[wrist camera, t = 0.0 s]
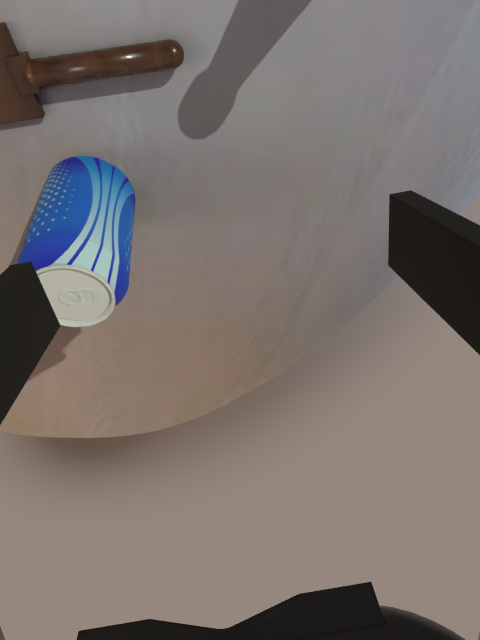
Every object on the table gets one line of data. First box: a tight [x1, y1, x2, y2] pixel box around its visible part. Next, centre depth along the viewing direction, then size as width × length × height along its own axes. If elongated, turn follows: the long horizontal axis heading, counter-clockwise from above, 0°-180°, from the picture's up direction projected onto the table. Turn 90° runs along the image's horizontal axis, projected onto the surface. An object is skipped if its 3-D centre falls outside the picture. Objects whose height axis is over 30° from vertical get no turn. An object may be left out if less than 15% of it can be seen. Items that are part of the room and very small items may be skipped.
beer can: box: [18, 155, 135, 327], centre depth 37 cm, size 8×8×16 cm
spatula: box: [0, 23, 184, 124], centre depth 33 cm, size 24×7×2 cm, turn 96°
